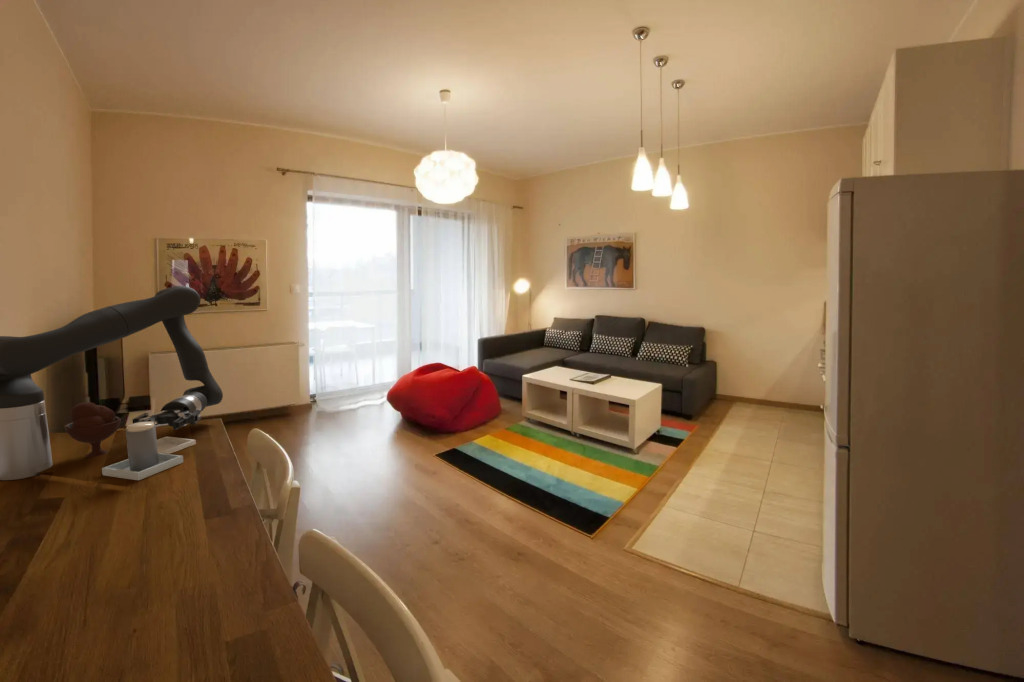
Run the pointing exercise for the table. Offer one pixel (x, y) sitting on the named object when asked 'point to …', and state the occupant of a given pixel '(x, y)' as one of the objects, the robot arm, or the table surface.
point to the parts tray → (173, 444)
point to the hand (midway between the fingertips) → (155, 427)
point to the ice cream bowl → (92, 425)
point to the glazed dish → (124, 471)
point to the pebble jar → (142, 446)
